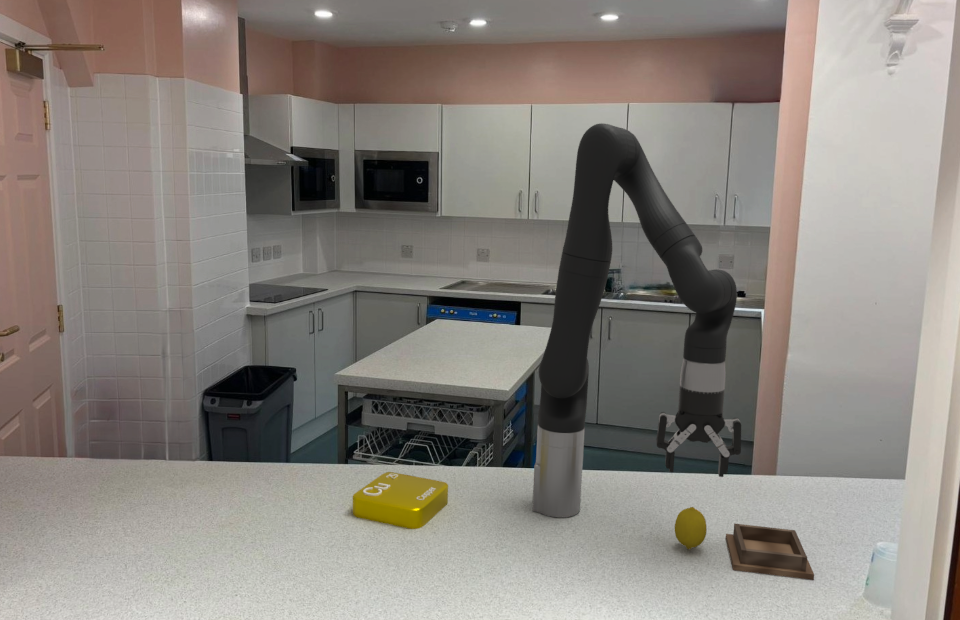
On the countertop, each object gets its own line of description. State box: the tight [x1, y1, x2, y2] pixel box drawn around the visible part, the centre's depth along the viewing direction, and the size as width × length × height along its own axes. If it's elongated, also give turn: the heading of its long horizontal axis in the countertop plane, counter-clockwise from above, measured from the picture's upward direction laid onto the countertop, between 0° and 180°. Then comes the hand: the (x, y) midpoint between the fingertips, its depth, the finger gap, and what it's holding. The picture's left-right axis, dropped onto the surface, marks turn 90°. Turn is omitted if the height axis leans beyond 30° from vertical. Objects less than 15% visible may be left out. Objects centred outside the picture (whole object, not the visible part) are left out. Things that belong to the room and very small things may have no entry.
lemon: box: [674, 506, 708, 550], centre depth 139 cm, size 6×6×8 cm
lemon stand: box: [725, 522, 815, 581], centre depth 136 cm, size 13×12×4 cm
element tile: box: [352, 471, 449, 530], centre depth 152 cm, size 15×15×5 cm
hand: (695, 473), depth 137 cm, fingers open, 8 cm apart
